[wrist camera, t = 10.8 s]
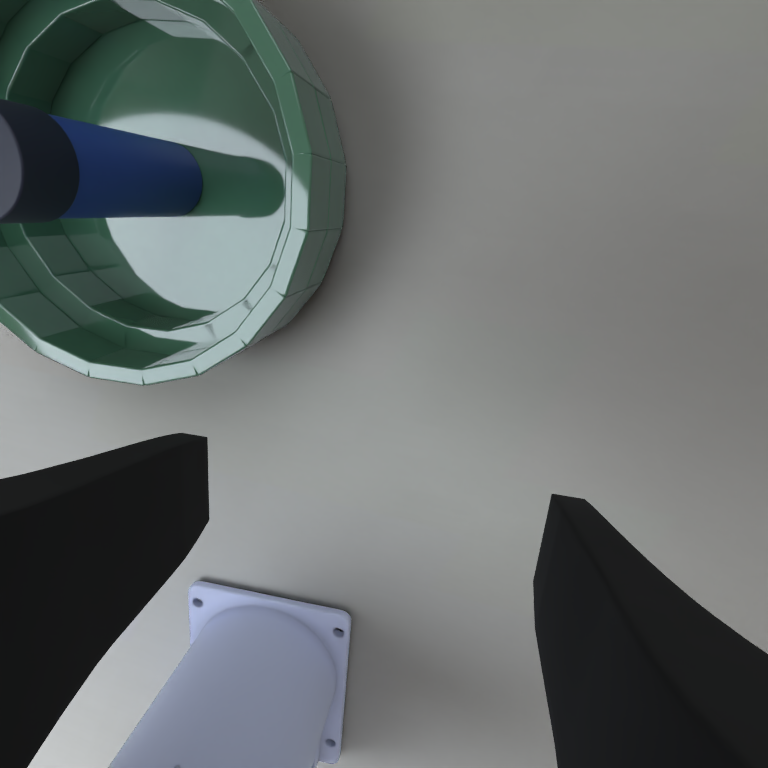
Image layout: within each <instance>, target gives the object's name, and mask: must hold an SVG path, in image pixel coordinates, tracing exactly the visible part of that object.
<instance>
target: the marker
mask: <svg viewBox="0 0 768 768" xmlns="http://www.w3.org/2000/svg"><path fill="white" fill-rule="evenodd" d="M201 192H202V175H201V171H200V168H199V166H198V163H197V162H196V160H195V158H194V157H193V156H192V154H191V153H190V152H189V151H188V150H187V149H186V148H184V147H183V146H181V145H179V144H177V143H174V142H171V141H166V140H162V139H157V138H153V137H148V136H144V135H139V134H135V133H130V132H126V131H122V130H117V129H113V128H108V127H104V126H99V125H95V124H90V123H86V122H81V121H77V120H72V119H68V118H63V117H59V116H54V115H50V114H47V113H45V112H43V111H42V110H40V109H38V108H36V107H32V106H29V105H25V104H21V103H17V102H12V101H8V100H4V99H0V224H13V223H45V222H50V221H53V220H55V219H63V218H132V217H178V216H182V215H185V214H187V213H188V212H190V211H191V210H192V209H193V208H194V207H195V206H196V204H197V202H198V201H199V198H200V196H201Z"/></svg>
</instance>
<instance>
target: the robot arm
mask: <svg viewBox="0 0 768 768" xmlns="http://www.w3.org/2000/svg"><path fill="white" fill-rule="evenodd" d="M208 521H209V491H208V447H207V437H203V436H197V435H191V434H184V433H178V434H171V435H166V436H162V437H157V438H153V439H150V440H146V441H142V442H139V443H135V444H132V445H128V446H125V447H121V448H118V449H114V450H111V451H108V452H104V453H101V454H97V455H94V456H90V457H87V458H83V459H80V460H76V461H72V462H68V463H64V464H61V465H57V466H53V467H49V468H45V469H42V470H38V471H34V472H30V473H26V474H22V475H17V476H13V477H8V478H4V479H0V768H27V767H28V765H29V764H30V762H31V761H32V759H33V758H34V756H35V755H36V753H37V752H38V750H39V749H40V747H41V746H42V744H43V742H44V741H45V739H46V738H47V736H48V735H49V733H50V732H51V730H52V729H53V727H54V726H55V724H56V723H57V721H58V720H59V718H60V717H61V715H62V714H63V712H64V711H65V709H66V708H67V706H68V705H69V703H70V702H71V701H72V699H73V698H74V696H75V695H76V693H77V692H78V690H79V689H80V688H81V686H82V685H83V683H84V682H85V680H86V679H87V678H88V676H89V675H90V673H91V672H92V670H93V669H94V668H95V666H96V665H97V663H98V662H99V661H100V660H101V658H102V657H103V656H104V655H105V653H106V652H107V651H108V649H109V648H110V647H111V646H112V644H113V643H114V642H115V641H116V640H117V638H118V637H119V636H120V635H121V634H122V633H123V631H124V630H125V629H126V628H127V627H128V626H129V624H130V623H131V622H132V621H133V620H134V618H135V617H136V616H137V615H138V614H139V613H140V611H141V610H142V609H143V608H144V607H145V606H146V604H147V603H148V602H149V601H150V600H151V599H152V597H153V596H154V595H155V594H156V593H157V592H158V590H159V589H160V588H161V587H162V586H163V584H164V583H165V582H166V581H167V580H168V579H169V577H170V576H171V575H172V574H173V573H174V571H175V570H176V569H177V568H178V567H179V565H180V564H181V563H182V562H183V560H184V559H185V558H186V556H187V555H188V553H189V552H190V550H191V549H192V547H193V546H194V544H195V543H196V541H197V539H198V538H199V536H200V534H201V533H202V531H203V529H204V528H205V526H206V524H207V523H208ZM533 587H534V615H535V631H536V637H537V643H538V649H539V655H540V661H541V667H542V673H543V679H544V685H545V690H546V696H547V702H548V708H549V714H550V719H551V725H552V731H553V737H554V743H555V749H556V757H557V765H558V768H768V654H767V653H765V652H764V651H762V650H761V649H759V648H758V647H756V646H755V645H754V644H752V643H751V642H749V641H748V640H746V639H745V638H744V637H742V636H741V635H740V634H738V633H737V632H735V631H734V630H733V629H731V628H730V627H729V626H727V625H726V624H725V623H723V622H722V621H720V620H719V619H718V618H716V617H715V616H714V615H712V614H711V613H710V612H708V611H707V610H706V609H705V608H703V607H702V606H701V605H700V604H698V603H697V602H696V601H694V600H693V599H692V598H691V597H690V596H688V595H687V594H686V593H685V592H684V591H683V590H681V589H680V588H679V587H678V586H677V585H676V584H674V583H673V582H672V581H671V580H670V579H668V578H667V577H666V576H665V575H664V574H663V573H662V572H661V571H659V570H658V569H657V568H656V567H655V566H654V565H653V564H652V563H651V562H649V561H648V560H647V559H646V558H645V557H644V556H643V555H642V554H641V553H640V552H639V551H638V550H637V549H636V548H635V547H634V546H633V545H631V544H630V543H629V542H628V541H627V540H626V539H625V538H624V537H623V536H622V535H621V534H620V533H619V532H618V531H617V530H616V529H615V528H614V527H613V526H612V525H611V524H610V523H609V522H608V521H607V520H606V519H605V518H604V517H603V516H602V515H601V514H600V513H599V512H598V511H597V510H596V509H595V508H594V507H593V506H592V505H591V504H590V503H588V502H587V501H586V500H585V499H581V498H574V497H568V496H562V495H556V494H552V496H551V500H550V505H549V510H548V514H547V519H546V524H545V528H544V533H543V538H542V543H541V547H540V552H539V557H538V561H537V566H536V571H535V576H534V580H533ZM188 596H189V622H190V648H189V650H188V651H187V653H186V654H185V656H184V657H183V658H182V660H181V661H180V663H179V664H178V666H177V667H176V669H175V670H174V672H173V673H172V675H171V676H170V678H169V679H168V680H167V682H166V683H165V685H164V686H163V688H162V689H161V691H160V692H159V694H158V695H157V697H156V698H155V699H154V701H153V702H152V704H151V705H150V707H149V708H148V710H147V711H146V713H145V714H144V716H143V717H142V718H141V720H140V721H139V723H138V724H137V726H136V727H135V729H134V730H133V732H132V733H131V735H130V736H129V738H128V739H127V740H126V742H125V743H124V745H123V746H122V748H121V749H120V751H119V752H118V754H117V755H116V757H115V758H114V759H113V761H112V762H111V764H110V765H109V767H108V768H316V766H317V763H318V761H321V762H325V763H329V764H334V763H336V762H338V760H339V757H340V753H341V741H342V729H343V717H344V705H345V693H346V680H347V668H348V656H349V644H350V632H351V617H350V615H349V614H348V613H347V612H346V611H343V610H339V609H334V608H329V607H325V606H320V605H315V604H310V603H305V602H300V601H296V600H291V599H286V598H281V597H276V596H271V595H267V594H262V593H257V592H252V591H247V590H242V589H237V588H233V587H228V586H223V585H218V584H213V583H208V582H204V581H195V582H194V583H193V584H192V585H191V586H190V588H189V591H188ZM198 599H200V600H201V601H199V600H198ZM336 628H340V629H342V630H343V631H339V630H337V629H336Z"/></svg>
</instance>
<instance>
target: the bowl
mask: <svg viewBox="0 0 768 768" xmlns="http://www.w3.org/2000/svg"><path fill="white" fill-rule="evenodd" d="M0 99H4V100H8V101H12V102H17V103H21V104H25V105H29V106H32V107H36V108H38V109H40V110H42V111H43V112H45V113H47V114H50V115H54V116H59V117H63V118H68V119H72V120H77V121H81V122H86V123H90V124H95V125H99V126H104V127H108V128H113V129H117V130H122V131H126V132H130V133H135V134H139V135H144V136H148V137H153V138H157V139H162V140H166V141H171V142H174V143H177V144H179V145H181V146H183V147H184V148H186V149H187V150H188V151H189V152H190V153H191V154H192V156H193V157H194V158H195V160H196V162H197V163H198V166H199V168H200V171H201V175H202V192H201V196H200V198H199V201H198V202H197V204H196V206H195V207H194V208H193V209H192V210H191V211H190V212H188V213H187V214H185V215H182V216H178V217H132V218H63V219H55V220H53V221H50V222H45V223H13V224H0V322H1V323H2V324H3V325H4V326H6V327H7V328H8V329H9V330H10V331H12V332H13V333H14V334H15V335H16V336H17V337H19V338H20V339H21V340H22V341H23V342H24V343H26V344H27V345H28V346H29V347H30V348H31V349H33V350H34V351H36V352H37V353H39V354H41V355H43V356H45V357H47V358H49V359H51V360H54V361H56V362H58V363H60V364H62V365H64V366H66V367H68V368H70V369H72V370H74V371H77V372H79V373H81V374H83V375H85V376H87V377H90V378H96V379H103V380H110V381H116V382H123V383H129V384H136V385H142V386H144V385H153V384H158V383H163V382H169V381H174V380H179V379H185V378H190V377H195V376H199V375H202V374H203V373H205V372H207V371H209V370H210V369H212V368H214V367H216V366H217V365H219V364H221V363H223V362H225V361H226V360H228V359H230V358H232V357H233V356H235V355H237V354H239V353H240V352H242V351H244V350H246V349H247V348H249V347H251V346H252V345H254V344H256V343H257V342H259V341H261V340H262V339H264V338H266V337H267V336H269V335H271V334H272V333H274V332H276V331H277V330H279V329H281V328H282V327H284V326H286V325H287V324H289V322H291V320H292V319H293V318H294V317H295V315H296V314H297V313H298V312H299V311H300V309H301V308H302V307H303V306H304V304H305V303H306V302H307V301H308V299H309V298H310V297H311V296H312V294H313V293H314V292H315V291H316V290H317V288H318V287H319V286H320V285H321V281H323V279H324V276H325V274H326V271H327V268H328V266H329V263H330V260H331V258H332V255H333V252H334V250H335V247H336V244H337V242H338V239H339V236H340V234H341V231H342V229H341V228H342V227H343V217H344V200H345V183H346V165H345V157H344V153H343V149H342V144H341V140H340V135H339V131H338V127H337V122H336V118H335V114H334V109H333V105H332V102H331V100H330V99H331V98H330V96H329V94H328V92H327V90H326V89H325V87H324V85H323V83H322V81H321V80H320V78H319V76H318V74H317V72H316V71H315V69H314V67H313V65H312V63H311V62H310V60H309V58H308V56H307V55H306V53H305V51H304V49H303V47H302V46H301V44H300V42H299V41H298V40H297V39H296V37H295V36H294V35H293V34H292V33H291V32H290V31H289V30H288V29H287V28H286V27H285V26H284V25H282V24H281V23H280V22H279V21H278V20H277V19H276V18H275V17H274V16H273V15H272V14H271V13H270V12H269V11H268V10H267V9H266V8H264V7H263V6H262V5H261V4H260V3H259V2H258V1H257V0H0Z"/></svg>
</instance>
